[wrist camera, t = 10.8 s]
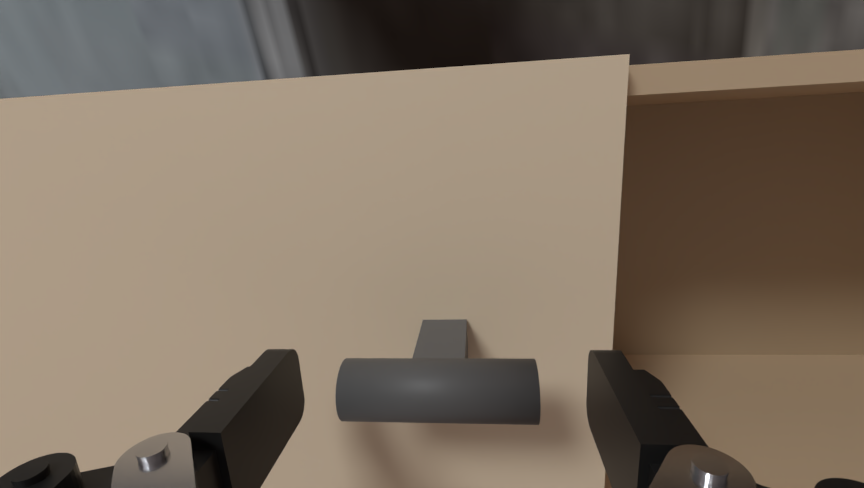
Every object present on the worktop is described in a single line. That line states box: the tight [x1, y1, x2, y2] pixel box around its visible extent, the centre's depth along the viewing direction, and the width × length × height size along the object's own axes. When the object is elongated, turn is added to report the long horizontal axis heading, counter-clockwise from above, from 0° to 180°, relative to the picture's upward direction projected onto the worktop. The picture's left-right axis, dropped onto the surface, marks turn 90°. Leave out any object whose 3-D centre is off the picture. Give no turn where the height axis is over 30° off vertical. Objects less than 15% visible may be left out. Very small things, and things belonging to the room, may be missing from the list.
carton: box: [604, 49, 864, 488], centre depth 19 cm, size 24×16×12 cm, turn 93°
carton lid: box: [0, 54, 629, 488], centre depth 13 cm, size 24×16×4 cm
